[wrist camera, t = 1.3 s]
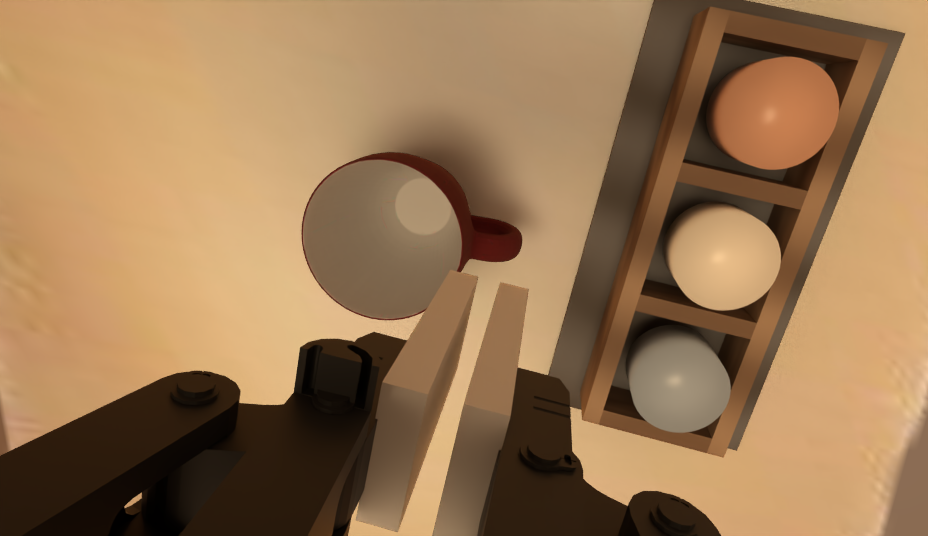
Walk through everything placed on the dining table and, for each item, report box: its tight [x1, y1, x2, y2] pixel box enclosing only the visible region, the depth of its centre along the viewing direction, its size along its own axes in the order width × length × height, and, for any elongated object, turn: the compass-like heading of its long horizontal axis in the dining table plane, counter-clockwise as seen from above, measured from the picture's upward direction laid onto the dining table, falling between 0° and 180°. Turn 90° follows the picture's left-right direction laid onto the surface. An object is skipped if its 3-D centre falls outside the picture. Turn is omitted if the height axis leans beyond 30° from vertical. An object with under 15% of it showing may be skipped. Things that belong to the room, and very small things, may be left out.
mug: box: [302, 152, 522, 320], centre depth 34 cm, size 10×8×10 cm
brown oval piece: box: [706, 57, 839, 170], centre depth 30 cm, size 5×5×3 cm
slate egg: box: [625, 325, 731, 433], centre depth 35 cm, size 5×5×3 cm
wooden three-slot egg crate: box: [548, 0, 905, 457], centre depth 35 cm, size 26×13×4 cm, turn 168°
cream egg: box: [663, 202, 781, 310], centre depth 33 cm, size 5×5×3 cm
